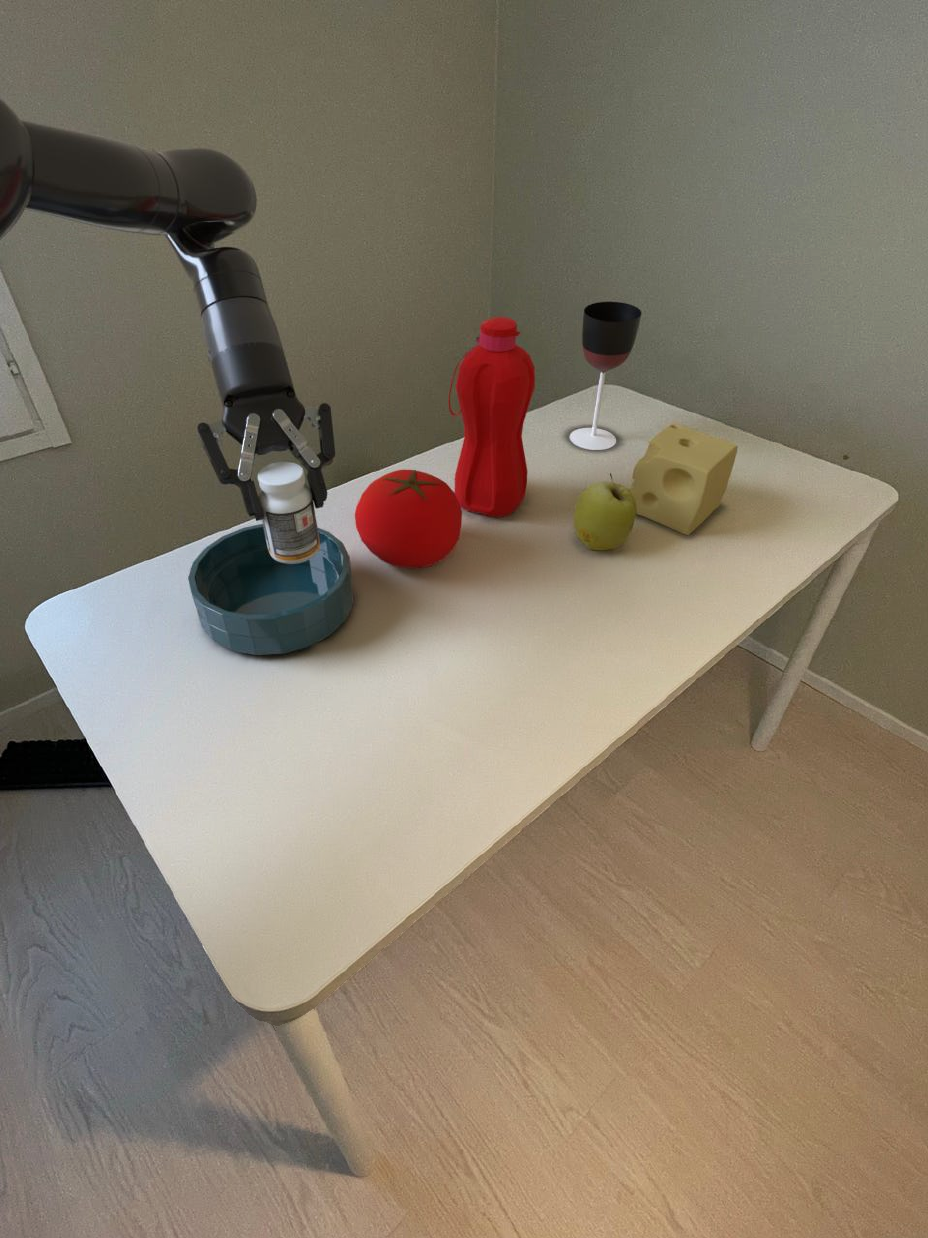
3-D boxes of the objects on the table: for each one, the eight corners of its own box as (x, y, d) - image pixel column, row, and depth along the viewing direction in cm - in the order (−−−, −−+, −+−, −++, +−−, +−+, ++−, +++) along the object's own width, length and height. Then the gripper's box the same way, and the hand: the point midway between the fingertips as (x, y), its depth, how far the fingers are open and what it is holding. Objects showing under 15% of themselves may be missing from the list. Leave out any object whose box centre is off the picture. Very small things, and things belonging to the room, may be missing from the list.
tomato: (436, 594, 85) (435, 517, 77) (343, 564, 89) (334, 489, 81) (476, 542, 93) (479, 467, 85) (389, 517, 97) (385, 444, 89)
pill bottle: (331, 546, 79) (321, 468, 73) (296, 572, 76) (282, 493, 69) (293, 530, 82) (279, 453, 75) (257, 554, 78) (240, 476, 71)
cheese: (622, 510, 99) (635, 446, 92) (659, 480, 105) (673, 418, 98) (690, 539, 94) (709, 473, 87) (724, 505, 100) (744, 442, 94)
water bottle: (460, 476, 105) (463, 301, 88) (530, 491, 102) (547, 313, 85) (436, 507, 99) (434, 325, 82) (510, 525, 96) (524, 340, 79)
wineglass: (557, 440, 114) (572, 312, 100) (586, 421, 119) (605, 297, 105) (599, 456, 110) (621, 326, 97) (627, 436, 115) (652, 310, 102)
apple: (551, 536, 92) (576, 464, 87) (587, 530, 98) (613, 462, 93) (597, 565, 88) (626, 491, 83) (632, 557, 93) (662, 487, 88)
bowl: (214, 678, 74) (201, 636, 70) (191, 581, 86) (179, 540, 82) (373, 634, 79) (369, 594, 75) (331, 549, 91) (326, 509, 87)
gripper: (171, 349, 67) (218, 519, 67) (318, 330, 72) (362, 489, 72) (178, 381, 75) (220, 534, 75) (311, 361, 79) (352, 506, 79)
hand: (290, 511), depth 73 cm, fingers closed on pill bottle, 5 cm apart
